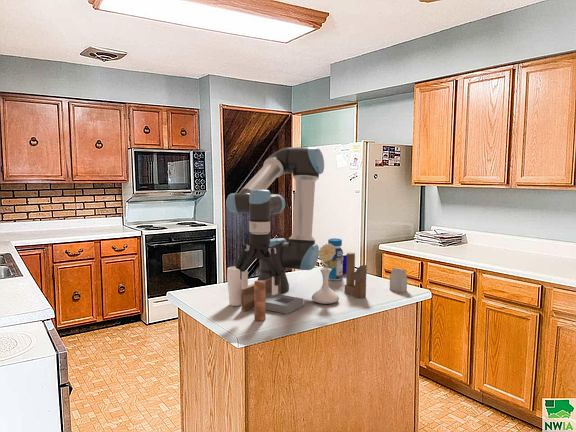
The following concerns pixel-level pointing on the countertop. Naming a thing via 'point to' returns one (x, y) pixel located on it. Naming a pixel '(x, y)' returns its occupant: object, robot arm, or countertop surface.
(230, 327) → the countertop surface
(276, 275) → the robot arm
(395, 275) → the tea bag
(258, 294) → the dowel
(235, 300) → the drinking glass
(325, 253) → the flower in vase
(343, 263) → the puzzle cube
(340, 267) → the beverage bottle
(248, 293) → the backstop board
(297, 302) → the holed block
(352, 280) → the wooden block
